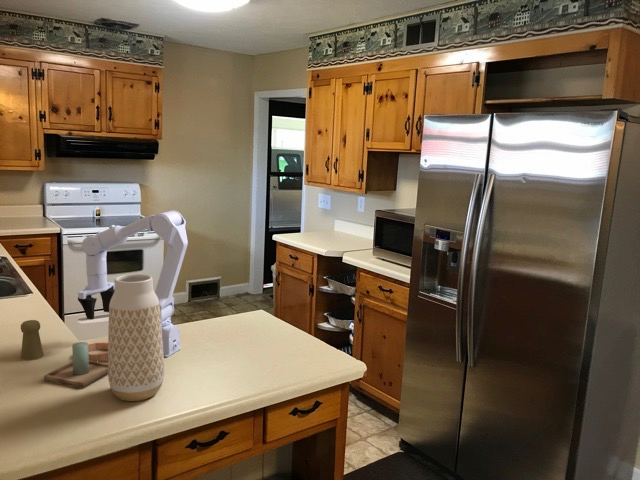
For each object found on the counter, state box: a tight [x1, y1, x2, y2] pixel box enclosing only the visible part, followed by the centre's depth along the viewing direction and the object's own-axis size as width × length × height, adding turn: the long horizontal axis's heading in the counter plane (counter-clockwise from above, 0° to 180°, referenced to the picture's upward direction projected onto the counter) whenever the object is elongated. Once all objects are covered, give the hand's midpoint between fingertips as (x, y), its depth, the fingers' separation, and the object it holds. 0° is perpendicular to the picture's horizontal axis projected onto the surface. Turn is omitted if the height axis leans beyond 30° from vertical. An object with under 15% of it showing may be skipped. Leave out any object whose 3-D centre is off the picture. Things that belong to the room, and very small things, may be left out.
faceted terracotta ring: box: [88, 341, 108, 362], centre depth 164 cm, size 11×11×2 cm
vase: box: [107, 273, 165, 402], centre depth 138 cm, size 14×14×31 cm
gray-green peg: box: [71, 341, 89, 375], centre depth 149 cm, size 4×4×8 cm
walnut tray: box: [43, 360, 108, 389], centre depth 150 cm, size 13×13×2 cm
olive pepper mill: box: [20, 319, 45, 361], centre depth 161 cm, size 6×6×11 cm
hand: (98, 315), depth 171 cm, fingers open, 7 cm apart
